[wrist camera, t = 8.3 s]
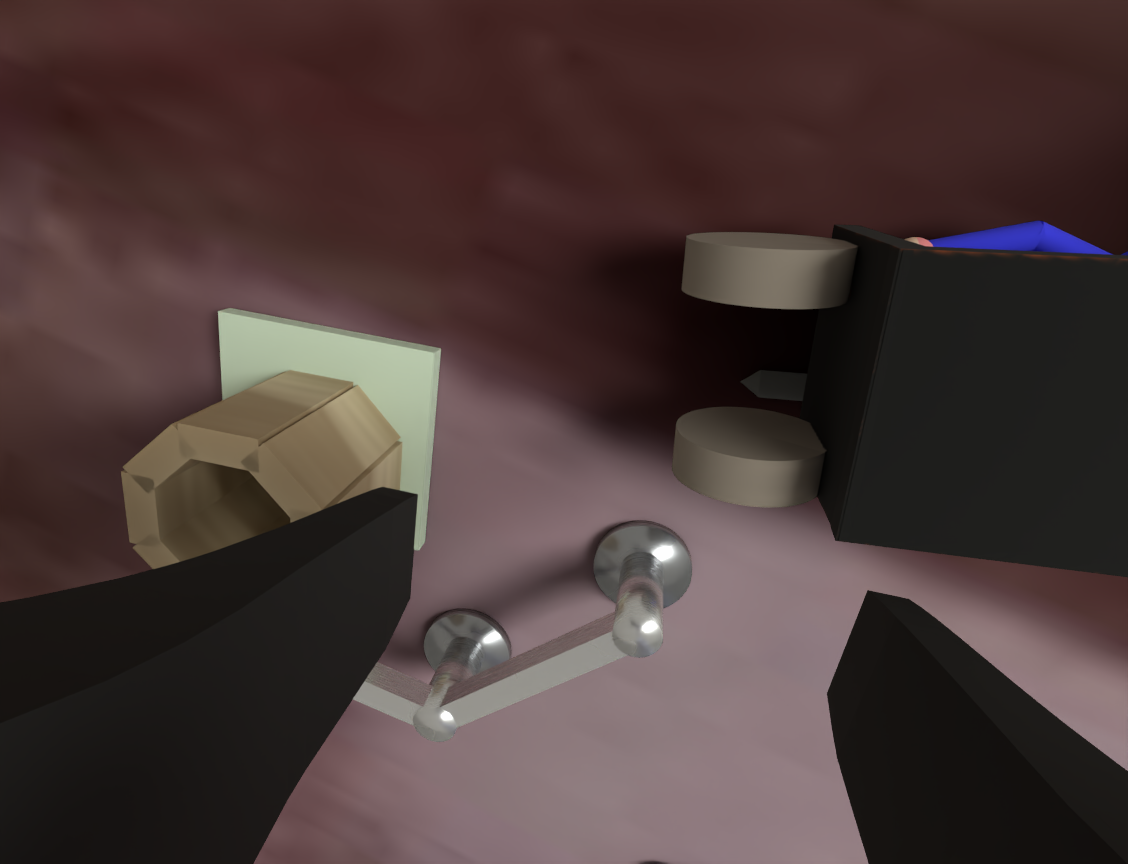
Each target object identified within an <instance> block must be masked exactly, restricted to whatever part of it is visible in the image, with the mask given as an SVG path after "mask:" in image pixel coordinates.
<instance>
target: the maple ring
mask: <svg viewBox="0 0 1128 864" xmlns="http://www.w3.org/2000/svg"><path fill="white" fill-rule="evenodd" d="M400 438H401V437H400V436H399V434H398V433H397V432H396V431H395V429H394V428H393V427H392V426H391V425H390V423H389V422H388V421H387V420H386V418H385V417H384V416H383V415H382V414H381V412H380V411H379V410H378V409H377V408H376V406H375V405H374V404H373V403H372V401H371V400H370V399H369V398H368V397H367V395H366V394H365V393H364V392H363V390H362V389H361V388H360V387H359V386H358V385H357V386H355V387H354V388H353V382H351V381H345V380H340V379H335V378H330V377H325V376H319V375H314V374H309V373H304V372H298V371H293V370H289V371H287V372H286V371H285V372H282V373H280V374H278V375H276V376H274V377H272V378H270V379H267V380H265V381H263V382H261V383H259V384H257V385H254V386H252V387H250V388H248V389H246V390H244V391H242V392H239V393H237V394H235V395H233V396H231V397H229V398H227V399H224V400H222V401H220V402H218V403H216V404H214V405H211V406H209V407H207V408H205V409H203V410H201V411H199V412H196V413H194V414H192V415H190V416H188V417H186V418H184V419H181V420H179V421H177V422H175V423H173V424H171V425H170V426H169V427H168V428H167V429H165V430H164V431H163V432H162V433H161V434H160V435H159V436H157V437H156V438H155V439H154V440H153V441H152V442H151V443H149V444H148V445H147V446H146V447H145V448H144V449H143V450H141V451H140V452H139V453H138V454H137V455H136V456H135V457H133V458H132V459H131V460H130V461H129V462H128V463H127V464H125V465H124V466H123V468H124V469H125V470H124V471H122V472H121V477H122V485H123V493H124V501H125V509H126V517H127V525H128V533H129V541H130V543H135V544H136V545H135V546H134V547H133V549H134V550H135V551H136V552H137V553H138V554H139V555H140V556H141V557H142V558H143V559H144V560H145V561H146V562H147V563H148V564H149V565H150V566H151V567H152V568H153V569H156V568H160V567H163V566H167V565H171V564H174V563H178V562H181V561H184V560H187V559H191V558H194V557H197V556H200V555H203V554H207V553H210V552H213V551H216V550H218V549H221V548H224V547H227V546H229V545H232V544H235V543H238V542H240V541H243V540H246V539H249V538H251V537H254V536H257V535H260V534H262V533H265V532H268V531H271V530H274V529H276V528H279V527H281V526H284V525H286V524H289V523H291V522H294V521H296V520H299V519H301V518H304V517H306V516H308V515H311V514H313V513H316V512H318V511H321V510H323V509H326V508H328V507H330V506H333V505H335V504H338V503H340V502H342V501H345V500H347V499H350V498H352V497H355V496H357V495H360V494H362V493H365V492H368V491H370V490H373V489H377V488H380V487H387V488H391V489H396V490H400V481H401V463H402V444H403V442H400V441H398V440H399V439H400Z"/></svg>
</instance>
